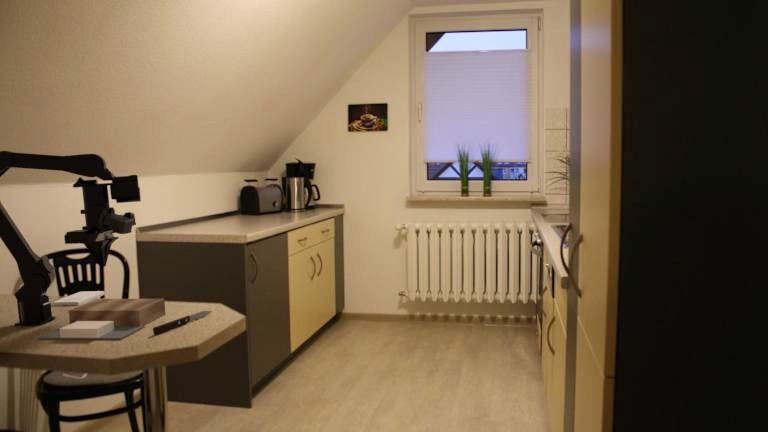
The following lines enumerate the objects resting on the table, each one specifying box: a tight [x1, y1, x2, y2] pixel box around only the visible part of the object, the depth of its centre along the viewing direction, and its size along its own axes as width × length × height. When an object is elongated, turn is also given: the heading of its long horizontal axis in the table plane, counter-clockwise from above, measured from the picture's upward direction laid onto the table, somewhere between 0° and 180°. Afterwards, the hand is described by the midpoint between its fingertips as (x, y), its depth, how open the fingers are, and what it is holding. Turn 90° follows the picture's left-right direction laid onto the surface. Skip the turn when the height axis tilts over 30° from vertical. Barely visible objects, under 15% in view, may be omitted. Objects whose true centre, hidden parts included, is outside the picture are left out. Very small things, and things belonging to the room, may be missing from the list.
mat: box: [38, 325, 145, 341], centre depth 138 cm, size 20×9×1 cm, turn 80°
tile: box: [58, 321, 114, 338], centre depth 137 cm, size 9×6×2 cm, turn 80°
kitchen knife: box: [152, 310, 213, 336], centre depth 142 cm, size 18×1×2 cm, turn 153°
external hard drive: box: [50, 290, 106, 307], centre depth 173 cm, size 2×8×12 cm
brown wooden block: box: [68, 298, 166, 327], centre depth 148 cm, size 18×11×4 cm, turn 80°
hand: (102, 266), depth 155 cm, fingers closed
